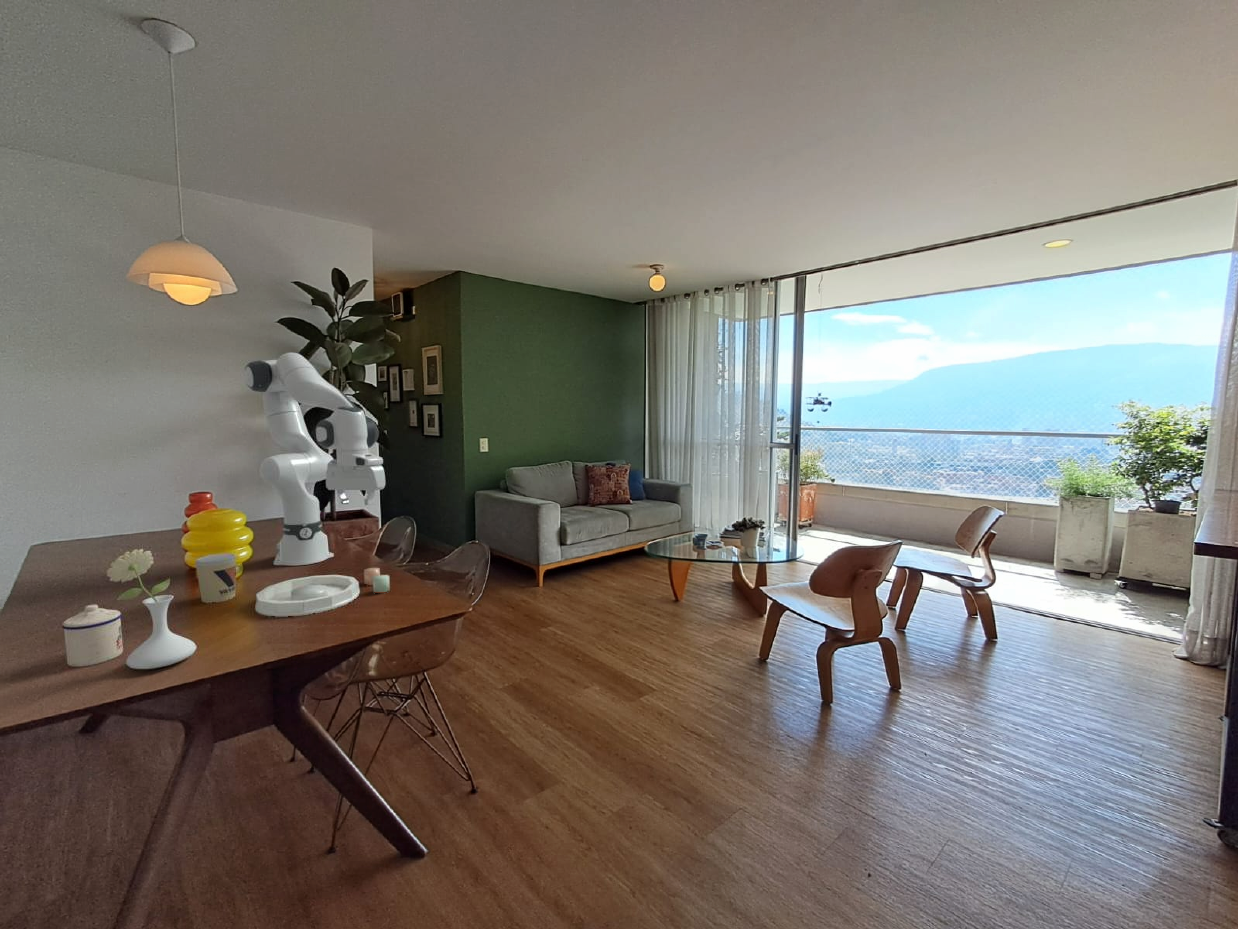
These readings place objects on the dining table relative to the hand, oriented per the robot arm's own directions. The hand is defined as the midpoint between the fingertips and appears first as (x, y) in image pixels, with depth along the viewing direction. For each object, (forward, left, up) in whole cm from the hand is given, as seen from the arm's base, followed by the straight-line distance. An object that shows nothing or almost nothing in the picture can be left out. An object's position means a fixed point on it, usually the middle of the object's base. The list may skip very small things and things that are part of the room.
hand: (356, 504), depth 164 cm
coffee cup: (-11, -35, -25) cm, 44 cm away
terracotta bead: (+2, +3, -25) cm, 25 cm away
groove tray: (+7, -15, -25) cm, 30 cm away
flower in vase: (+31, -47, -25) cm, 62 cm away
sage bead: (+12, +3, -25) cm, 28 cm away
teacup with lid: (+18, -58, -25) cm, 66 cm away
